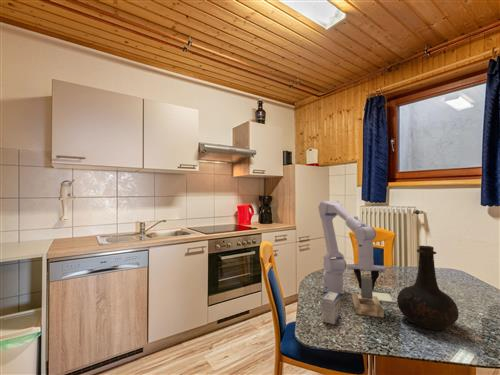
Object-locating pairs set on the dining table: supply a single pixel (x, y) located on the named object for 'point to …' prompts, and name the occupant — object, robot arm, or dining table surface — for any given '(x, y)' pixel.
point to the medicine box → (330, 307)
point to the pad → (383, 297)
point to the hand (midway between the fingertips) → (366, 288)
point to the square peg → (366, 287)
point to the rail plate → (367, 306)
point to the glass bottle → (427, 297)
